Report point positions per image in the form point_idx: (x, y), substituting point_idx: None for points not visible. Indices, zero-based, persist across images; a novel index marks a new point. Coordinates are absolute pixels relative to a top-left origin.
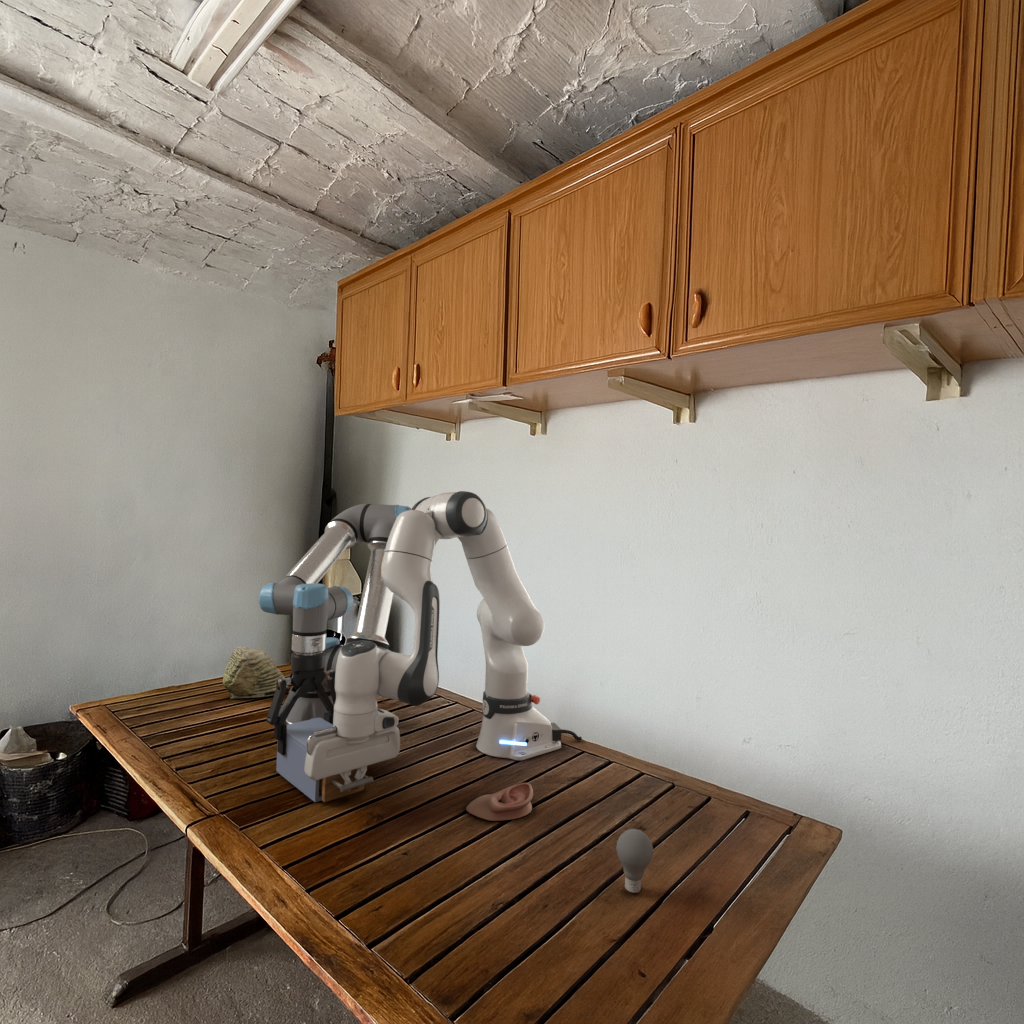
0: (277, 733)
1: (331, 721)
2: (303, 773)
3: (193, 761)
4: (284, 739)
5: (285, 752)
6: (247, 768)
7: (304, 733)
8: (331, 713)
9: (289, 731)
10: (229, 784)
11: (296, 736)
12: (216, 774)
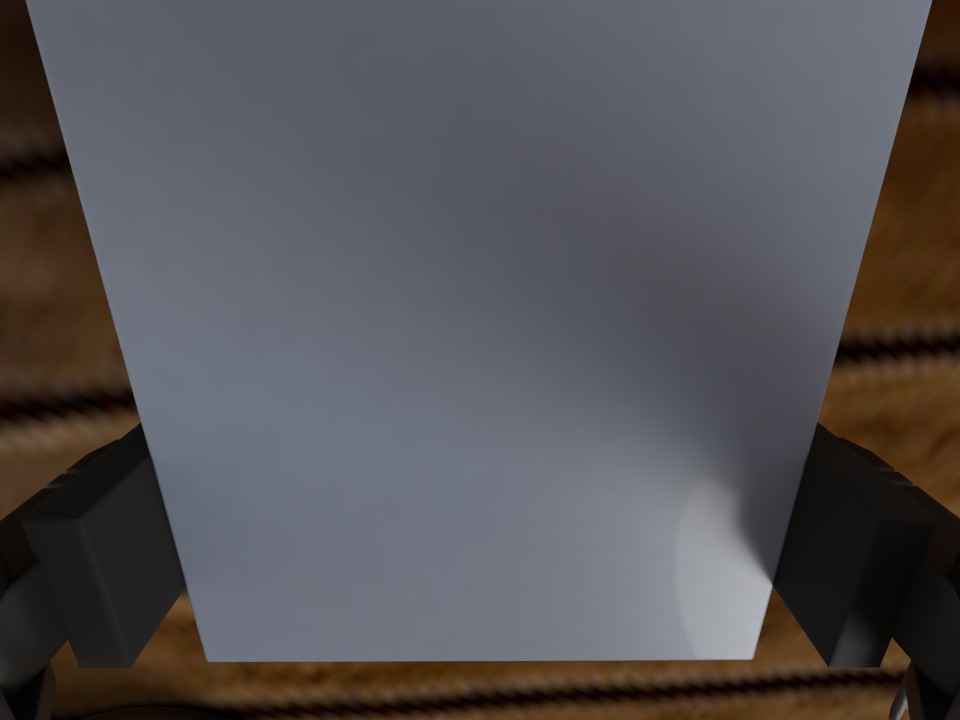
0: (911, 486)
1: (104, 461)
2: None
3: (833, 711)
4: None
5: None
6: None
7: (655, 265)
8: (9, 575)
9: (761, 461)
10: (891, 407)
11: (823, 221)
12: None
